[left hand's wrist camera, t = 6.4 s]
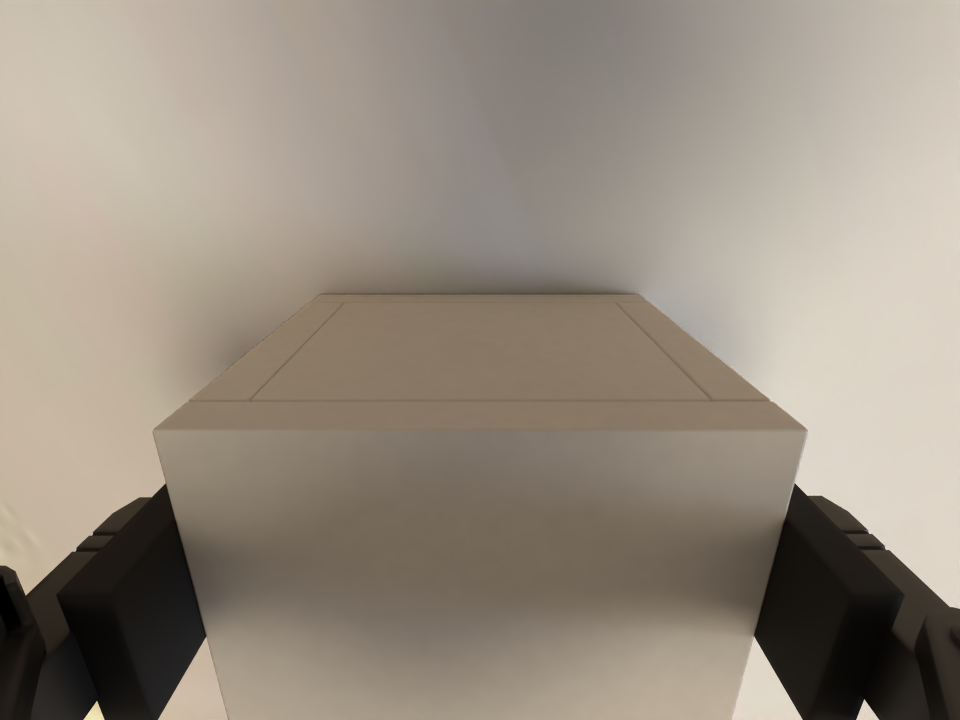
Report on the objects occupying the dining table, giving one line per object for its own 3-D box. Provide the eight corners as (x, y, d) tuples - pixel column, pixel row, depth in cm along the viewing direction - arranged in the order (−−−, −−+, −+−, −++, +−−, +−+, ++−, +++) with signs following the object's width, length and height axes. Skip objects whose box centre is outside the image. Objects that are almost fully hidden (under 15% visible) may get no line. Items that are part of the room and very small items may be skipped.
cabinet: (594, 688, 23) (661, 991, 14) (364, 688, 23) (298, 991, 14) (640, 294, 16) (810, 429, 8) (318, 293, 16) (149, 429, 8)
